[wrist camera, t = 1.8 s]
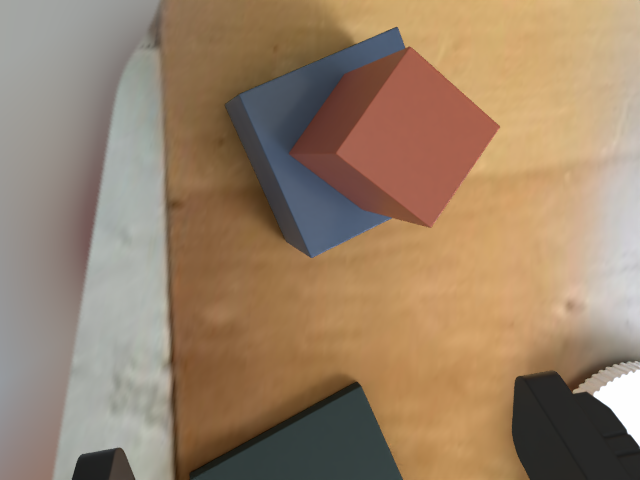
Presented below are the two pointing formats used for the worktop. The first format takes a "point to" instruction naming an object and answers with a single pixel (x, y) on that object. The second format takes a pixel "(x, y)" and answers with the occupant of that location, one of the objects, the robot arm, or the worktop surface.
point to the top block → (396, 138)
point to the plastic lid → (618, 393)
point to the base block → (282, 134)
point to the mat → (313, 446)
